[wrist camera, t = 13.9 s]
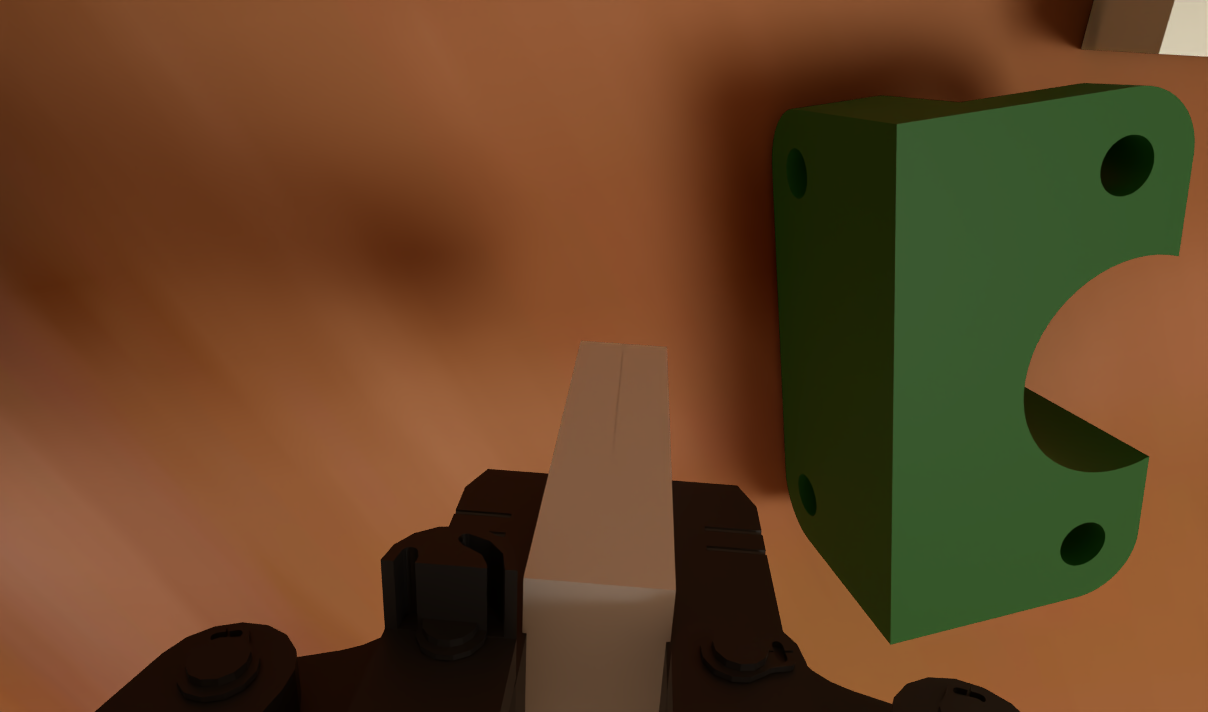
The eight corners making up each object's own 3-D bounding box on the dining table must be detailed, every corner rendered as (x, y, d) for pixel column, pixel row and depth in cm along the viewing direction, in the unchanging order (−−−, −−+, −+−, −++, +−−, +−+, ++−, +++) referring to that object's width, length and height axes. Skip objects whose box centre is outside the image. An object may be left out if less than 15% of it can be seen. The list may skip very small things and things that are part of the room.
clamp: (915, 366, 26) (1100, 619, 20) (740, 401, 25) (874, 678, 19) (1045, -18, 18) (1438, 211, 11) (788, 17, 17) (1059, 285, 10)
